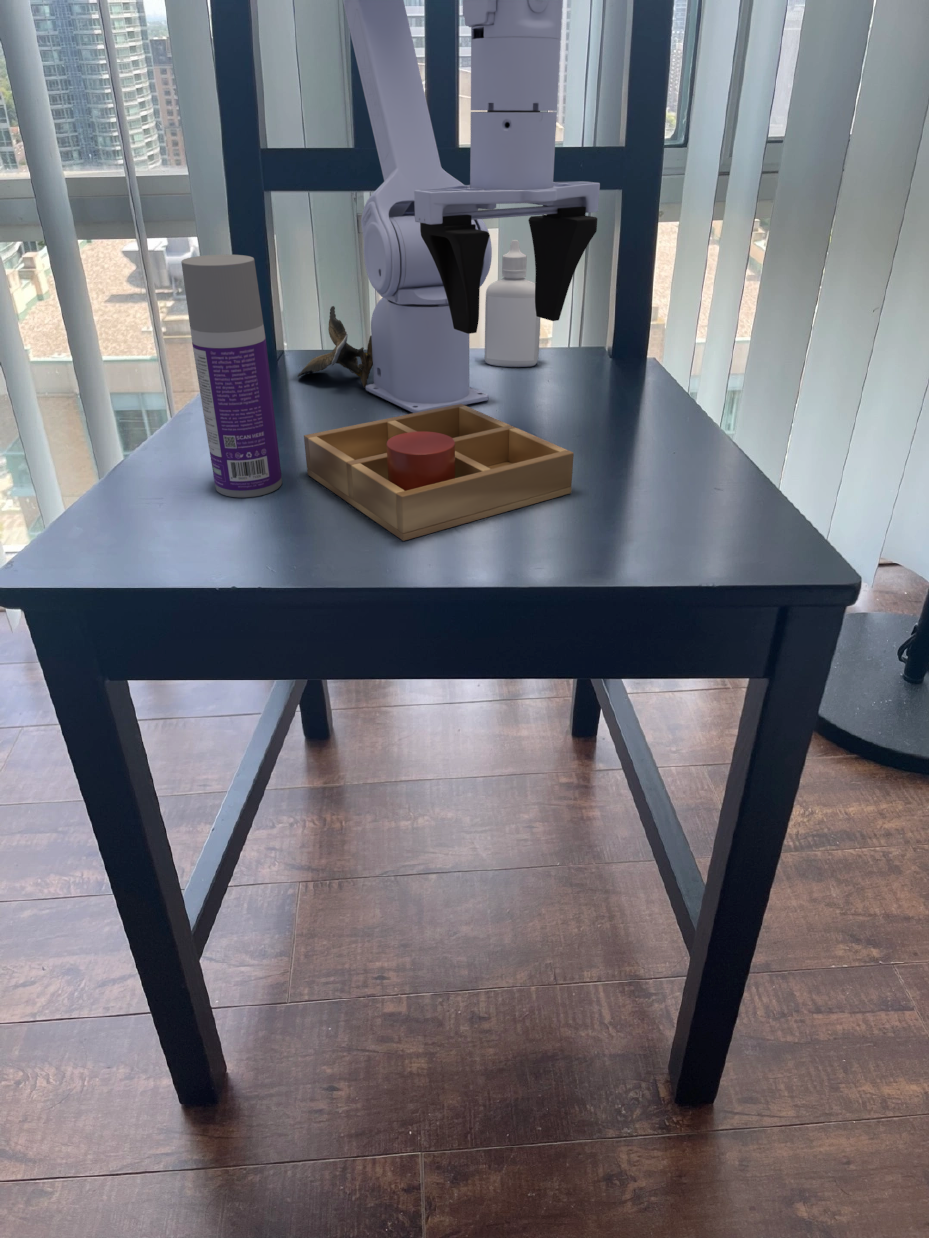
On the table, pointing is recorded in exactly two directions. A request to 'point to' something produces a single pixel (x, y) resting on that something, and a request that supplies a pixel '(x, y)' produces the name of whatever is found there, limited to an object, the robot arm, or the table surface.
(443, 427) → the grid
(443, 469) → the red cylinder
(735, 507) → the table surface
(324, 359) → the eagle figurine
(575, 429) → the table surface
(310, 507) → the table surface
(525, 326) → the eye dropper bottle
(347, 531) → the table surface
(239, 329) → the container
